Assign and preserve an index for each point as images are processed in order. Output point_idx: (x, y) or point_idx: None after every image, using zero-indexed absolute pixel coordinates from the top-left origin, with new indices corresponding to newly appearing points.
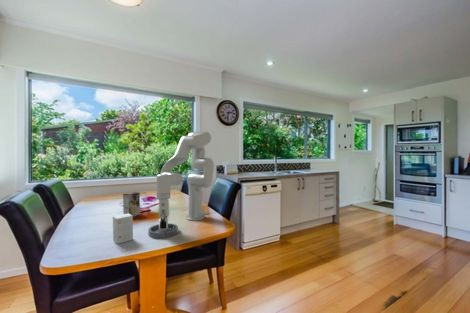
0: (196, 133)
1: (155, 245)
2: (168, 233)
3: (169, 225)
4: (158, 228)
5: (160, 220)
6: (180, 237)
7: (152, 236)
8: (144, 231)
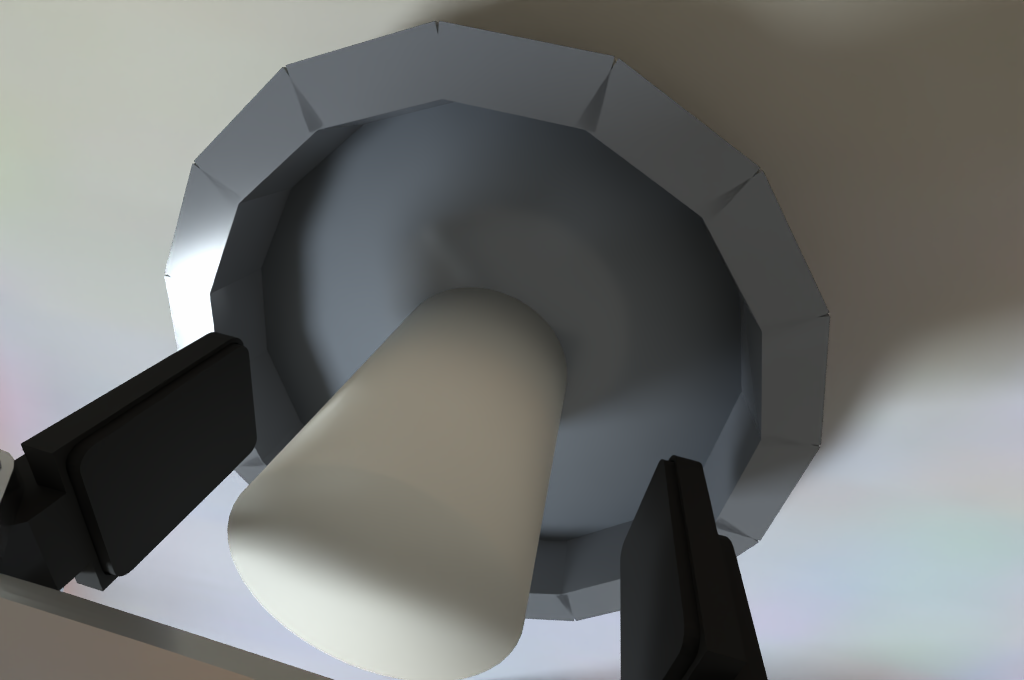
0: None
1: (999, 574)
2: (814, 373)
3: (251, 225)
4: (299, 405)
5: None
6: (1001, 62)
7: None
8: None
